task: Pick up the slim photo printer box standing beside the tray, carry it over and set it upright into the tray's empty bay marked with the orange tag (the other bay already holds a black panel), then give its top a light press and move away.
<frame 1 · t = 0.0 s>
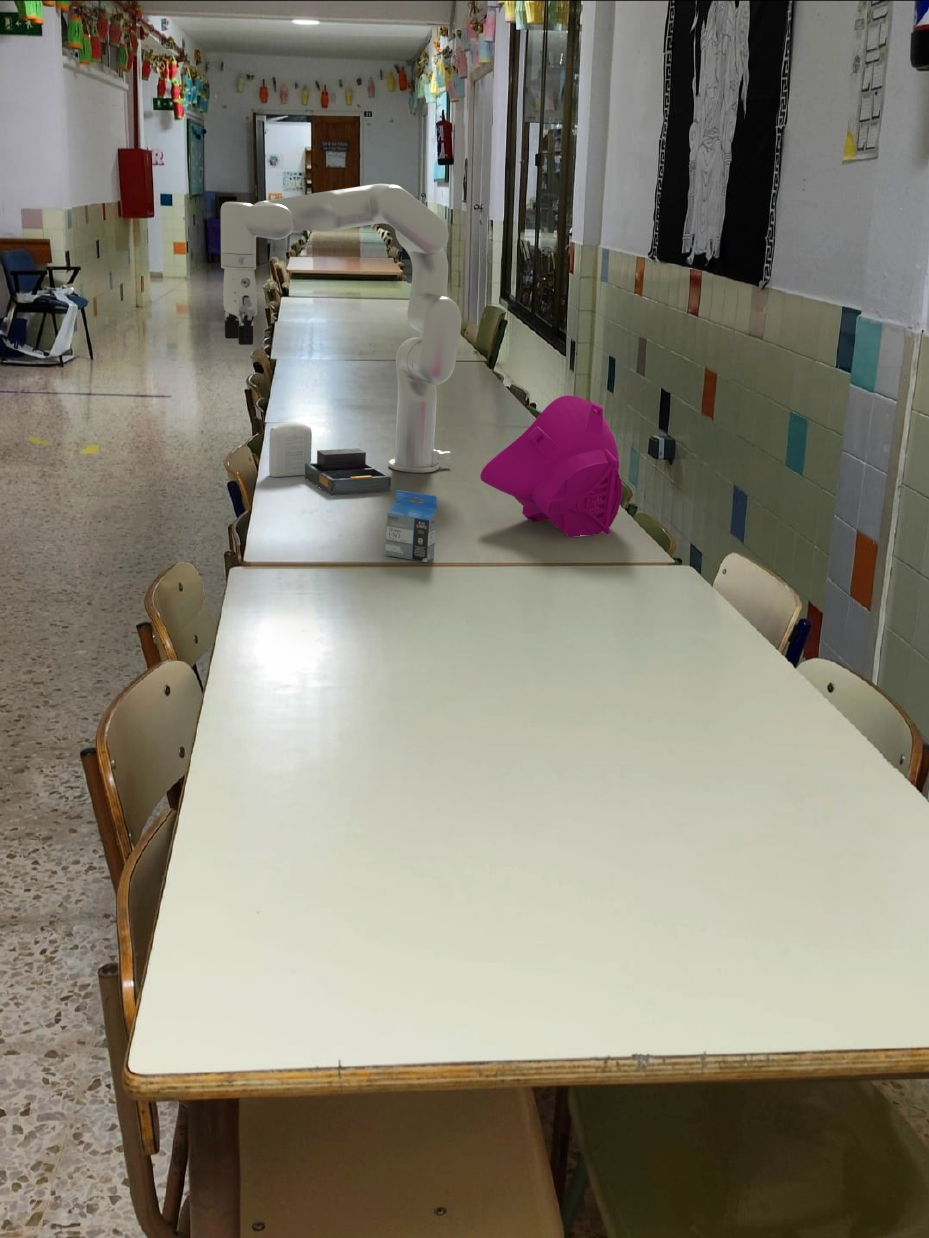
hand: (238, 341, 269), 31 cm above the table, tool pointing down, fingers open, 9 cm apart
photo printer: (290, 475, 286), on the table
face mask: (553, 529, 256), on the table
label tape box: (409, 558, 231), on the table
tray: (347, 484, 280), on the table
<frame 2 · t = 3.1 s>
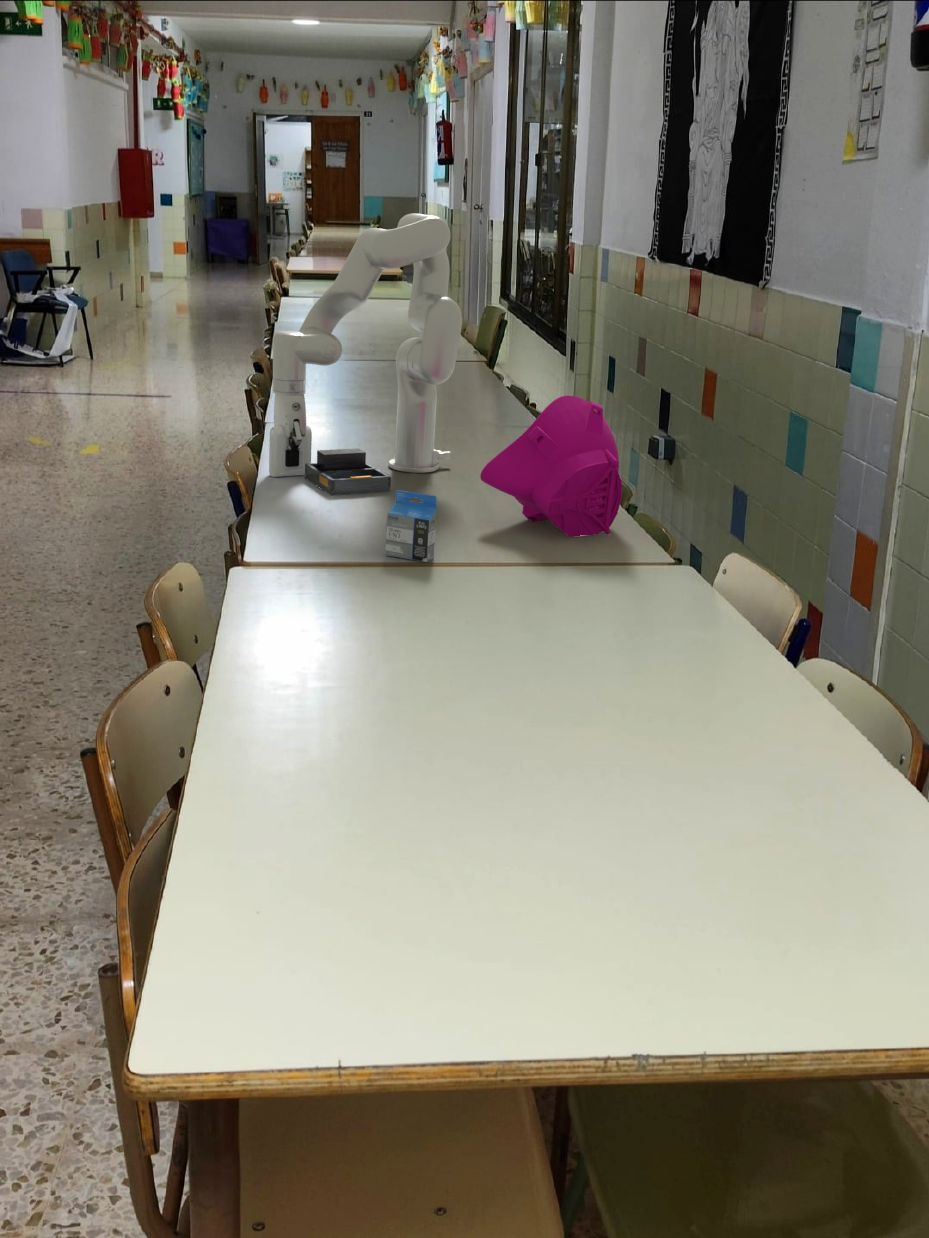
hand: (288, 463, 284), 3 cm above the table, tool pointing down, fingers closed on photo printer, 4 cm apart
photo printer: (290, 475, 286), on the table, touching gripper
everything else where it was.
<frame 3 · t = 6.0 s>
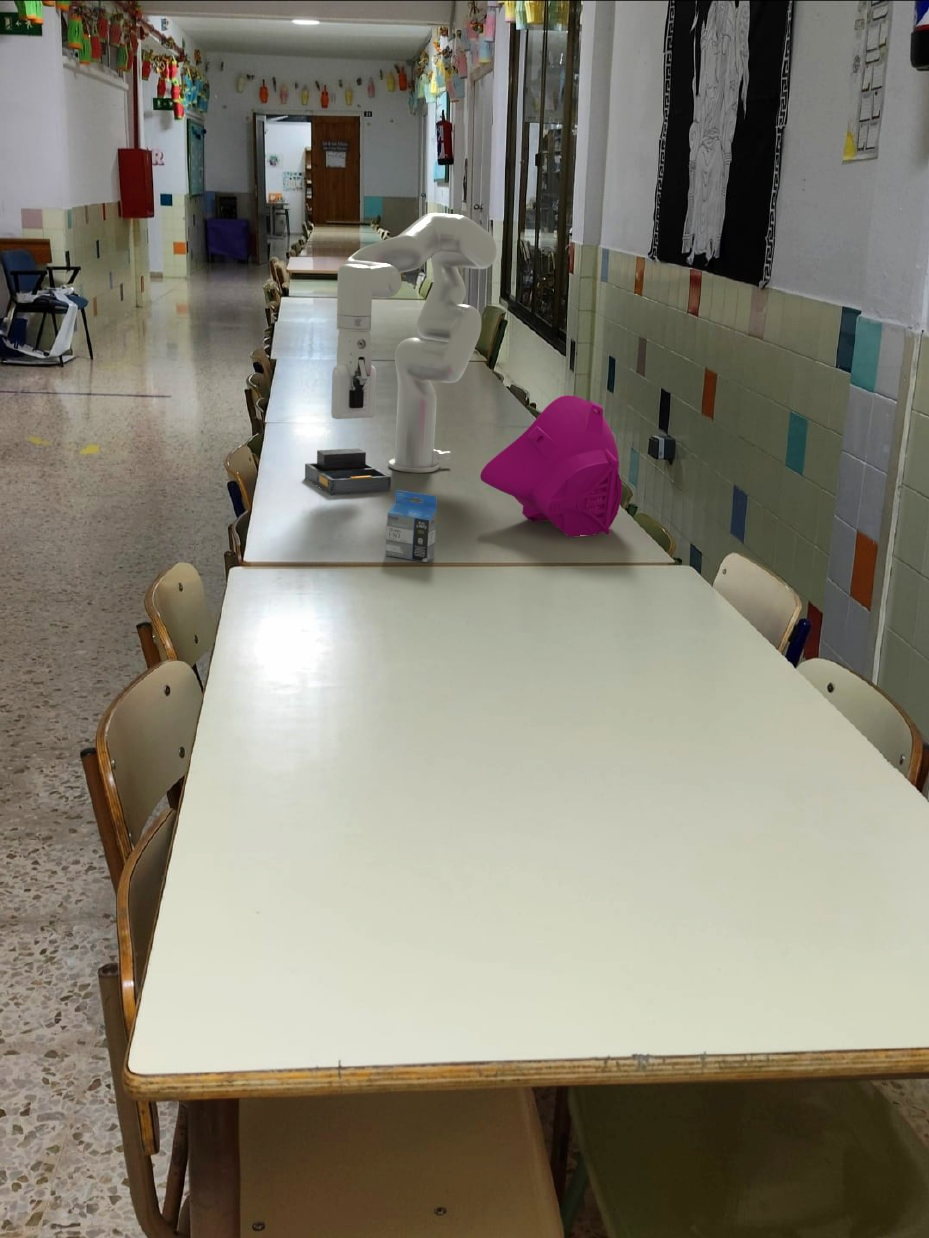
hand: (351, 404, 271), 19 cm above the table, tool pointing down, fingers closed on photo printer, 4 cm apart
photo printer: (353, 418, 272), point 16 cm above the table, touching gripper
everything else where it was.
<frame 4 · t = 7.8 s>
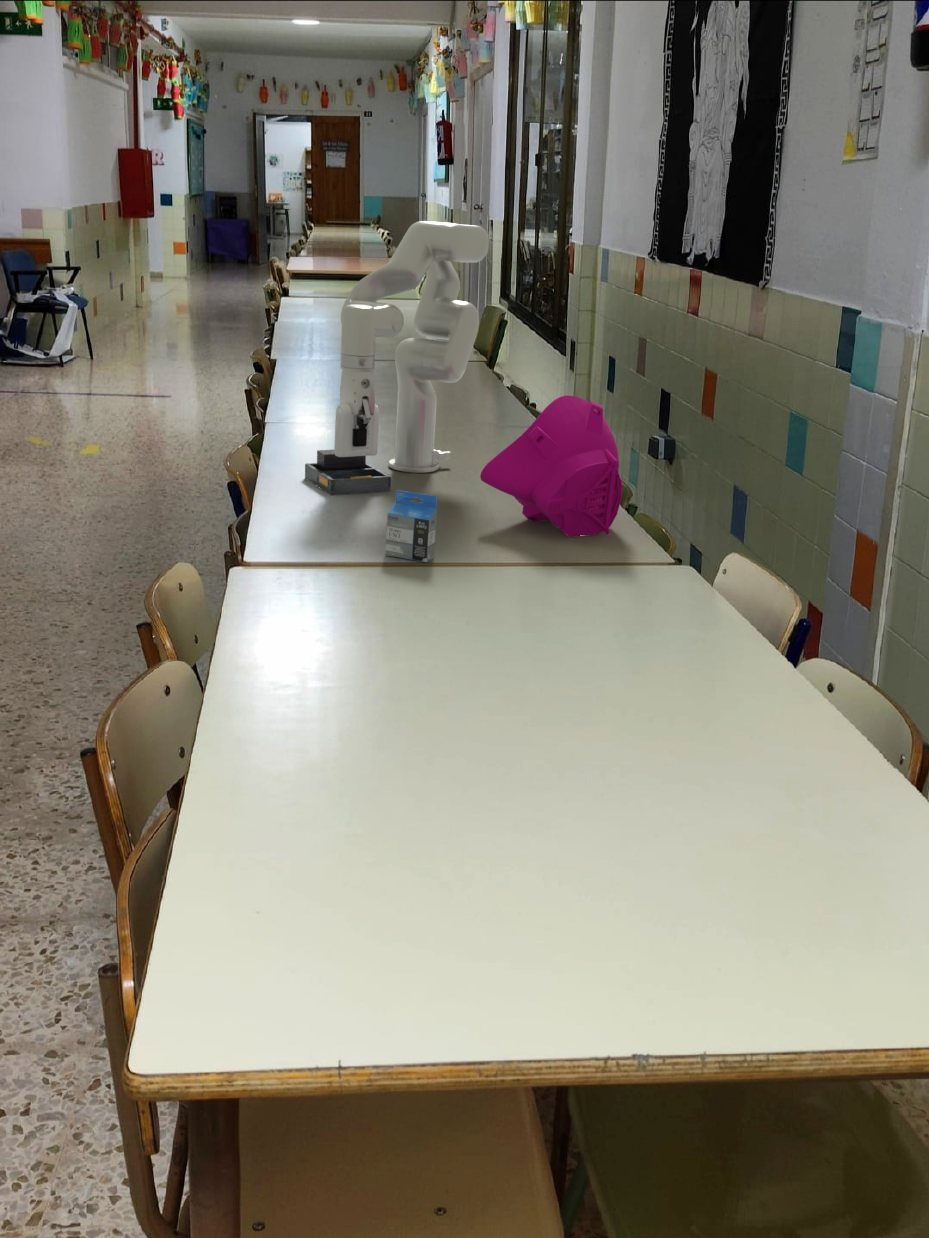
hand: (354, 443, 273), 11 cm above the table, tool pointing down, fingers closed on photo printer, 4 cm apart
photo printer: (355, 456, 274), point 8 cm above the table, touching gripper
everything else where it was.
when the fingers open (5 cm above the table, at t = 9.2 s): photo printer drops 1 cm, resting on tray.
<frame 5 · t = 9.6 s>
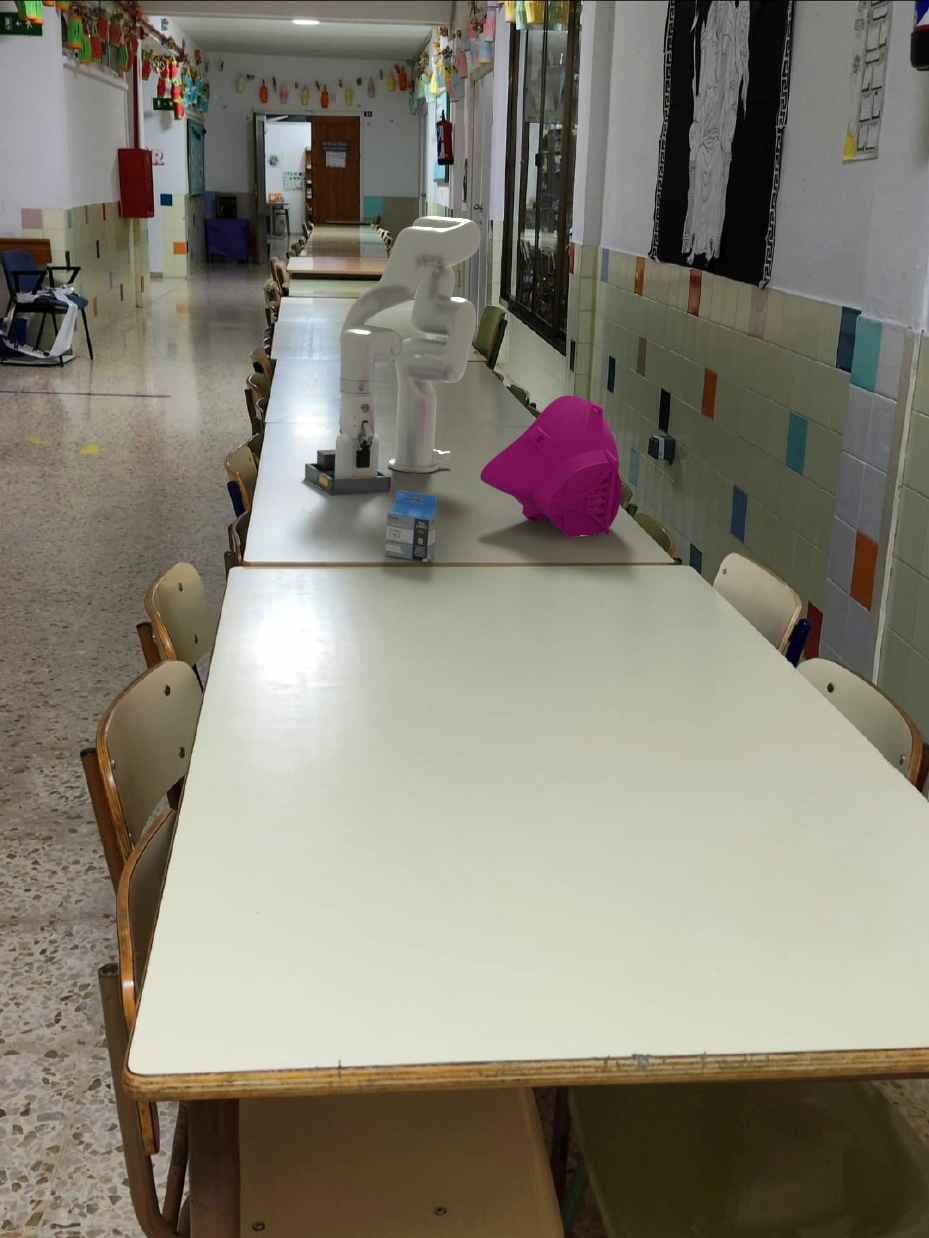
hand: (354, 462, 275), 6 cm above the table, tool pointing down, fingers open, 8 cm apart
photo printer: (355, 485, 277), point 1 cm above the table, touching tray
everything else where it was.
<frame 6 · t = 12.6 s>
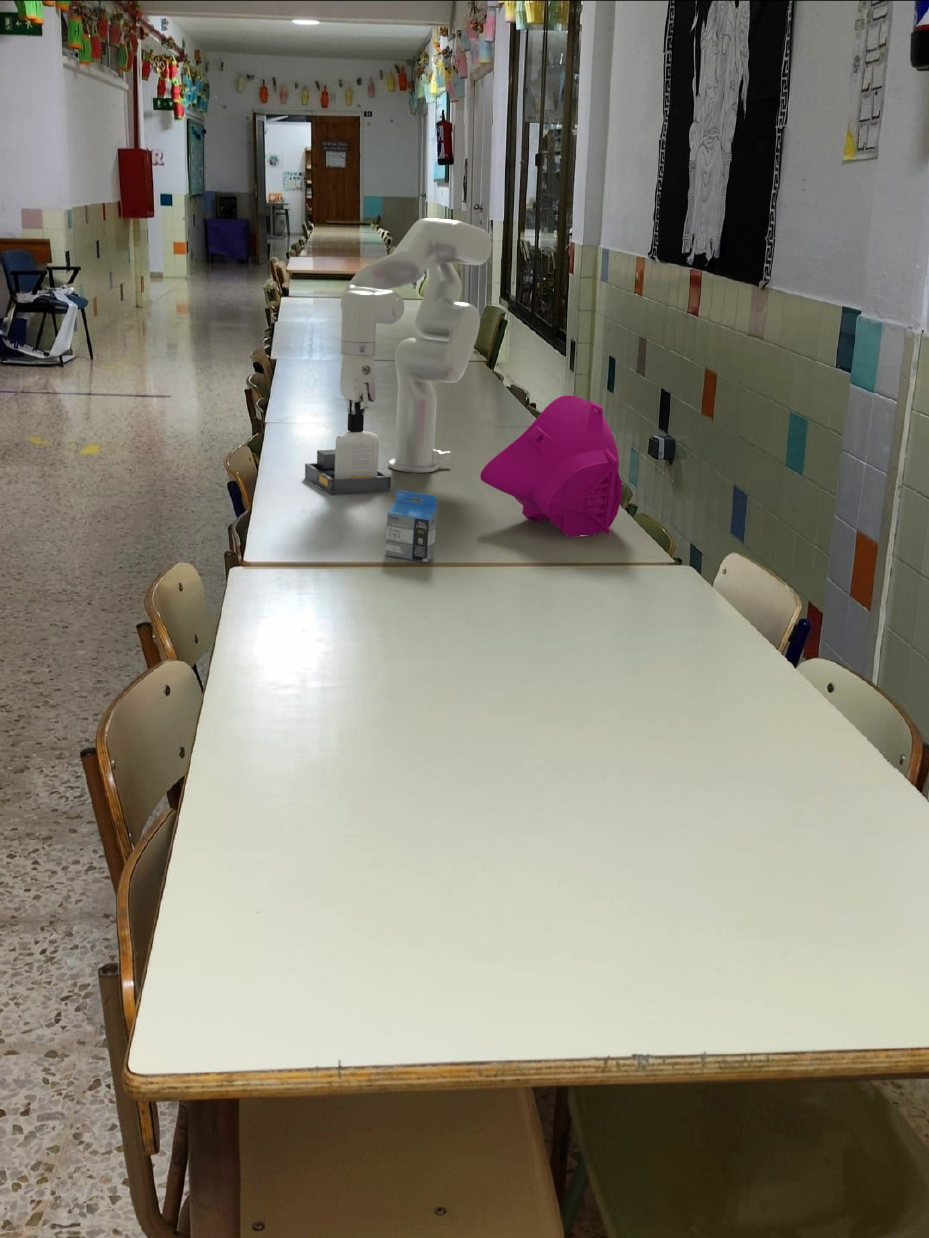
hand: (355, 431, 272), 13 cm above the table, tool pointing down, fingers closed
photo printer: (355, 485, 277), point 1 cm above the table, touching gripper, tray
everything else where it was.
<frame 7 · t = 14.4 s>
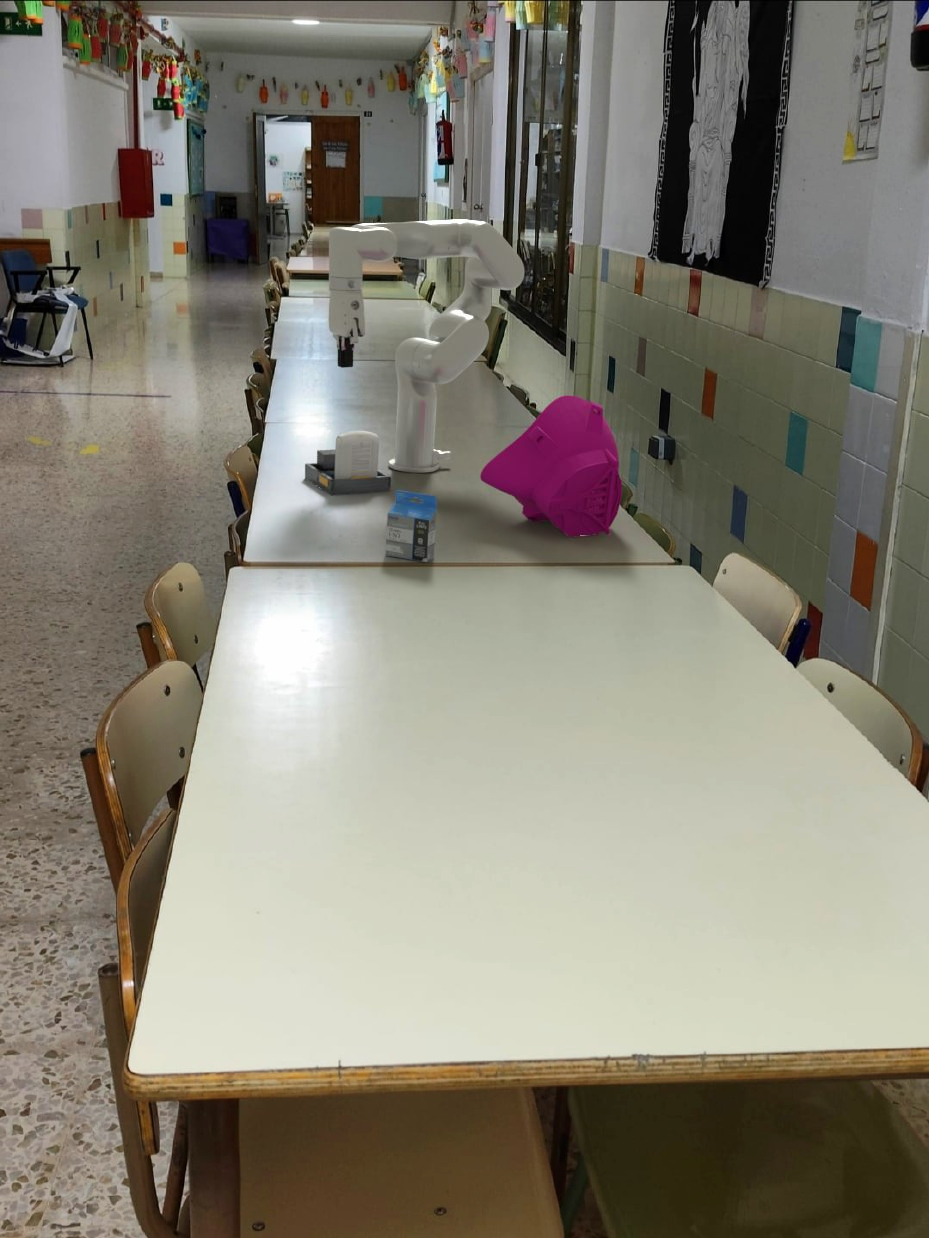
hand: (345, 366, 278), 26 cm above the table, tool pointing down, fingers closed
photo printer: (355, 485, 277), point 1 cm above the table, touching tray
everything else where it was.
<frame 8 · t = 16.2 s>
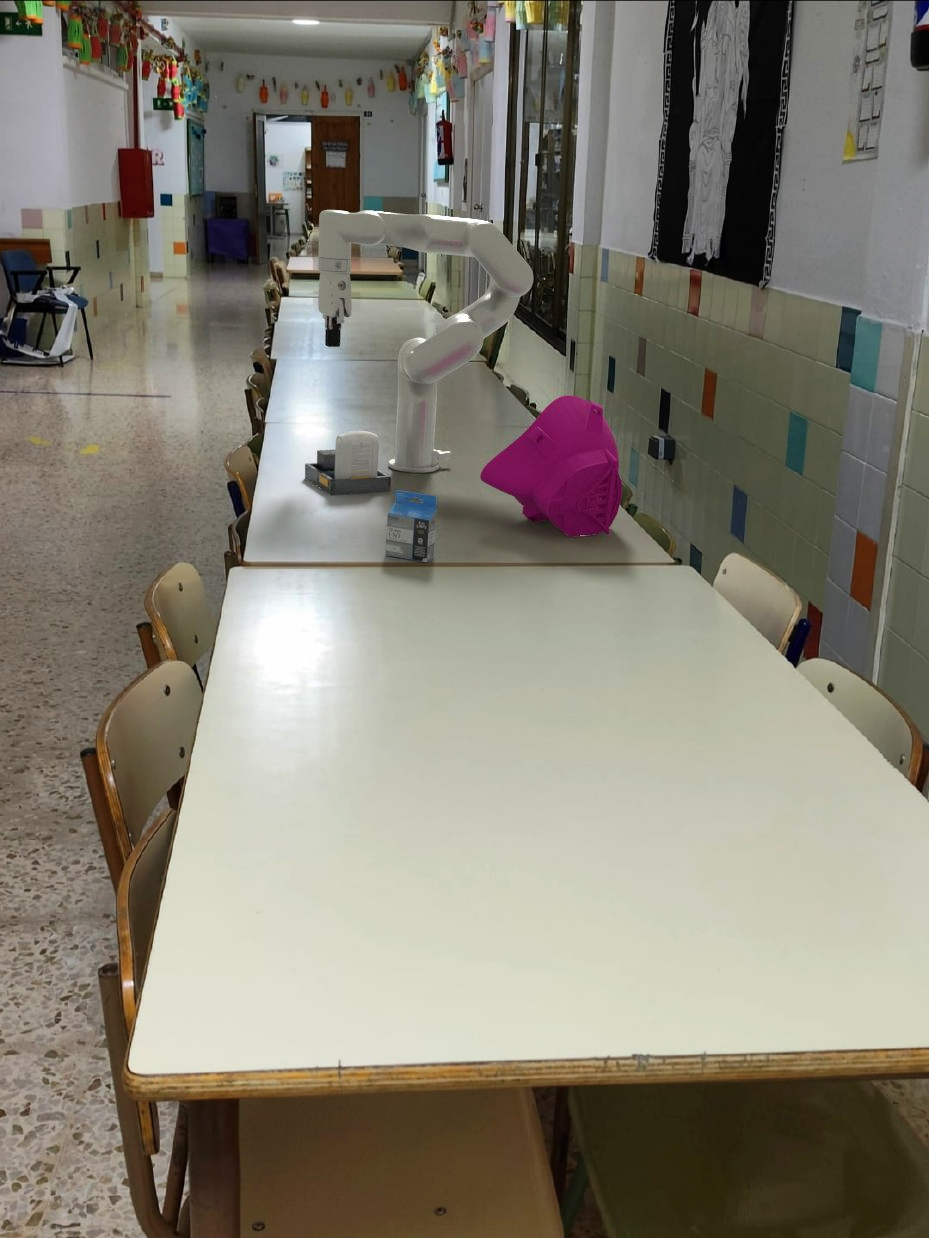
hand: (332, 346, 286), 29 cm above the table, tool pointing down, fingers closed
nothing on the table moved.
at the end: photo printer inside the target area on the tray (0.6 cm from its centre), point 0.8 cm above the tray's base; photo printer tilted 0°; the gripper is holding nothing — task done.
